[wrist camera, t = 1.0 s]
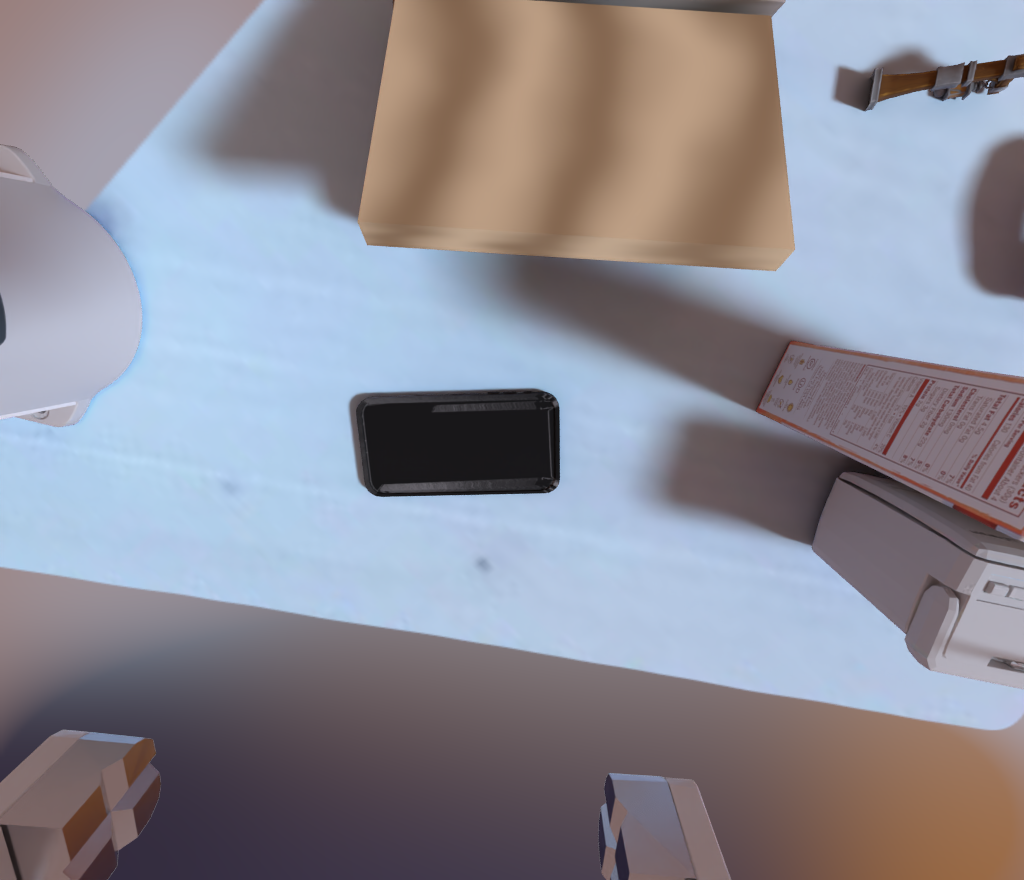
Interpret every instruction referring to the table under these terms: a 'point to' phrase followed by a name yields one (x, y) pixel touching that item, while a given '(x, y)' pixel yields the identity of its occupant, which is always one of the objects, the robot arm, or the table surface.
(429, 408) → the phone
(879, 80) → the wooden post with brackets
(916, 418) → the cracker box
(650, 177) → the oak plank
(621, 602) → the table surface
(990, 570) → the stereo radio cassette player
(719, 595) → the table surface
